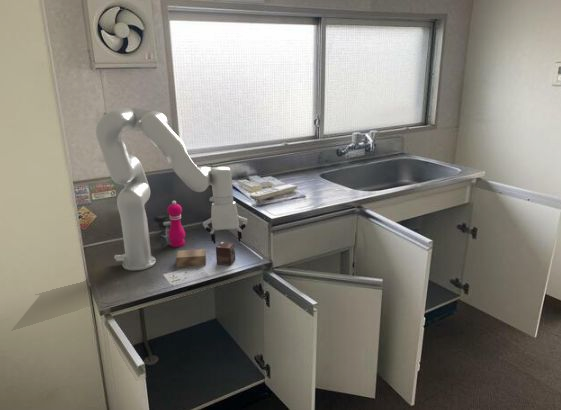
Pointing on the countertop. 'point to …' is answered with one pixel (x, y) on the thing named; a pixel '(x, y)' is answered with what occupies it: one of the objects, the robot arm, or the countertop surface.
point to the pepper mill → (176, 225)
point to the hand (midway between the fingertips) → (227, 241)
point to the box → (225, 253)
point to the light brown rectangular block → (191, 258)
